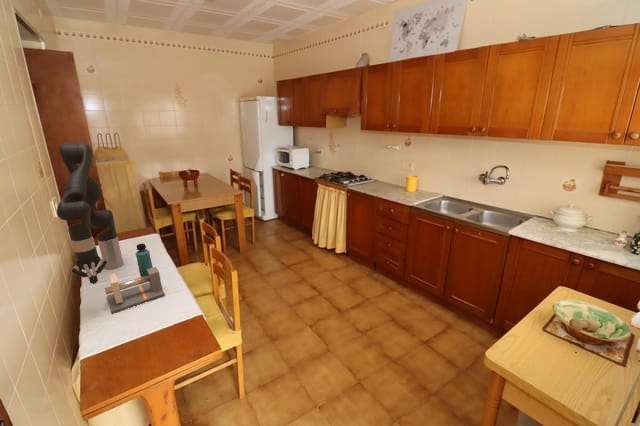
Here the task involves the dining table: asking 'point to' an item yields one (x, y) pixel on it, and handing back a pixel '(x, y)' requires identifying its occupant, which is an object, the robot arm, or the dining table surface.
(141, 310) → the dining table surface
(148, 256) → the beverage bottle
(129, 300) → the mount board
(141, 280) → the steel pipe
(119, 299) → the beige rectangular block
